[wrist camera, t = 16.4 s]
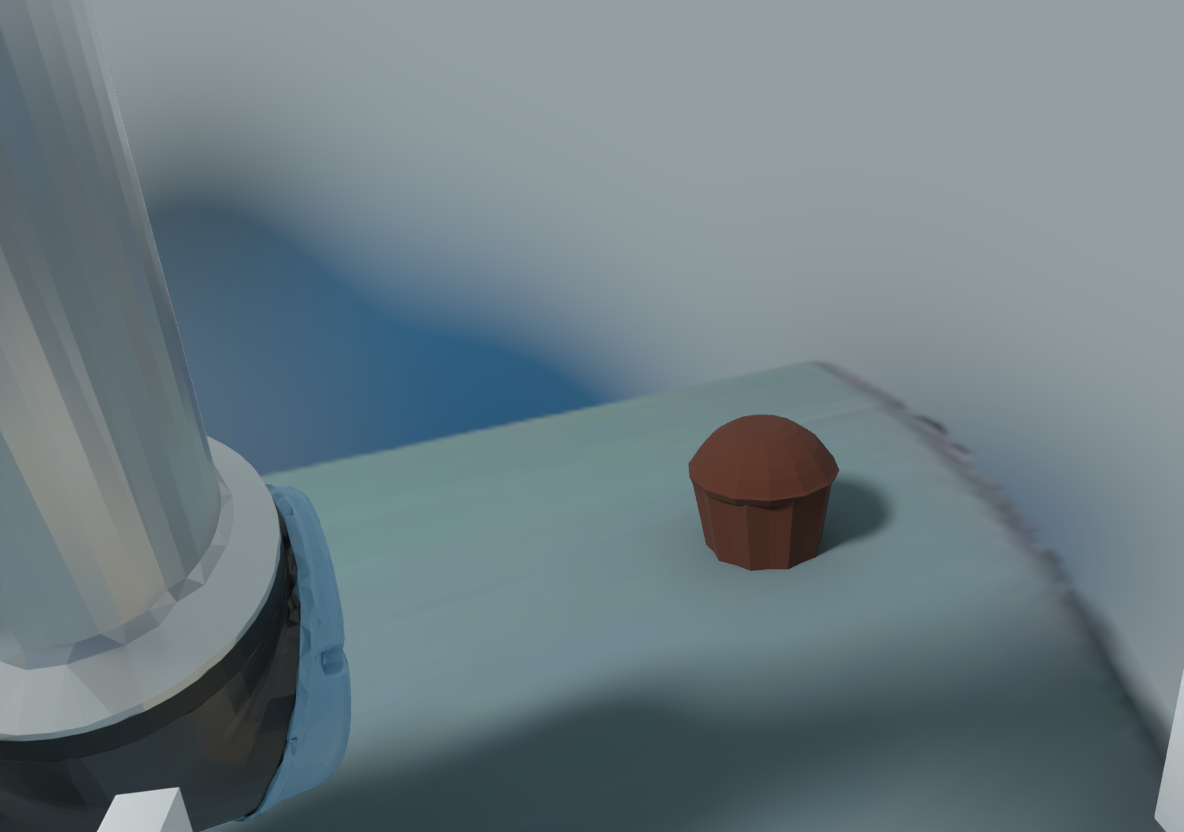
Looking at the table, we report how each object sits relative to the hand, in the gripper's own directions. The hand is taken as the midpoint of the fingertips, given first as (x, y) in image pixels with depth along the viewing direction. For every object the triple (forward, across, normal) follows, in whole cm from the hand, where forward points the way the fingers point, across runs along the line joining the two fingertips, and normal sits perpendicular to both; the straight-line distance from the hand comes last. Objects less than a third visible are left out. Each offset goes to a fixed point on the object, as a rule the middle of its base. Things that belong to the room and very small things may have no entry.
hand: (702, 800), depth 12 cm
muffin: (+53, +15, -28) cm, 62 cm away
